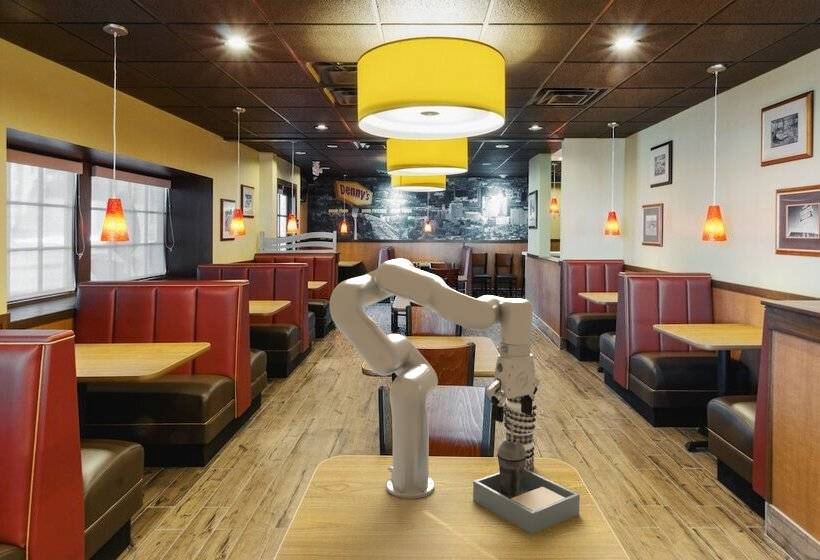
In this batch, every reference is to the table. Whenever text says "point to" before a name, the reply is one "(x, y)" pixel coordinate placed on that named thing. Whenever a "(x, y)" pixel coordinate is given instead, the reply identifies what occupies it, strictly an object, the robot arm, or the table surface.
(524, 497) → the beige rectangular block
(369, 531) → the table surface
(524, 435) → the decorative candle
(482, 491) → the tray
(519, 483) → the beverage cup
